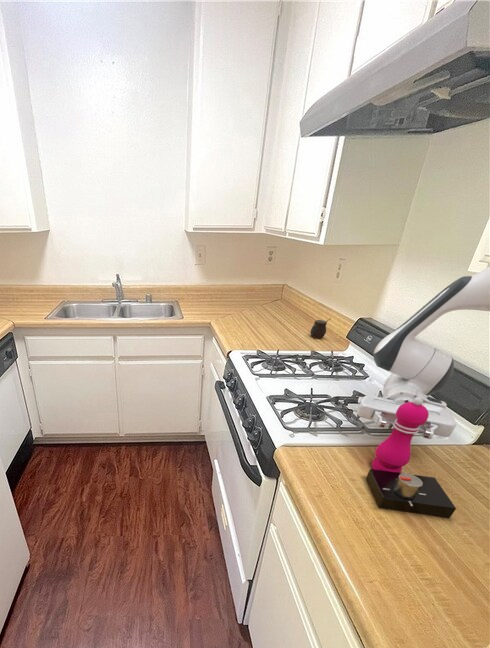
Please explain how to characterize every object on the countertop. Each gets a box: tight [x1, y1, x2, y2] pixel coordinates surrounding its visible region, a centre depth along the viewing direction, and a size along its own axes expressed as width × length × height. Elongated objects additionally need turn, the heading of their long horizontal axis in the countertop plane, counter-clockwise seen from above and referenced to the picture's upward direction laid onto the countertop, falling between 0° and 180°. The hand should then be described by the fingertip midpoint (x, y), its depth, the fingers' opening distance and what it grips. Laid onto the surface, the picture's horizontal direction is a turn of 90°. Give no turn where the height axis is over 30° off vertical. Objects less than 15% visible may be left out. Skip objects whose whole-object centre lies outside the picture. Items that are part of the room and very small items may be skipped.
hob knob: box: [393, 472, 423, 499], centre depth 74 cm, size 4×4×4 cm
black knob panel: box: [365, 468, 457, 519], centre depth 77 cm, size 14×11×3 cm
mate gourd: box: [310, 317, 331, 339], centre depth 171 cm, size 7×8×10 cm
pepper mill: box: [371, 398, 429, 473], centre depth 81 cm, size 7×7×20 cm
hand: (404, 430), depth 80 cm, fingers open, 8 cm apart
